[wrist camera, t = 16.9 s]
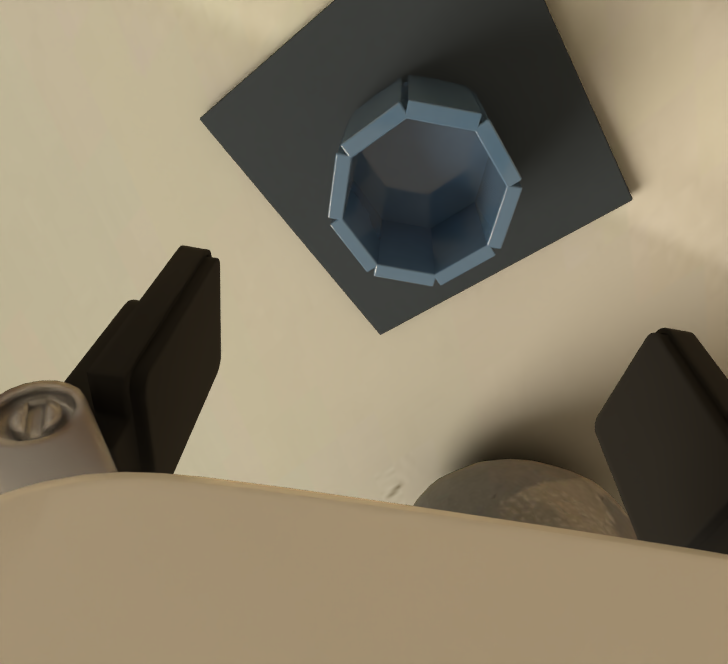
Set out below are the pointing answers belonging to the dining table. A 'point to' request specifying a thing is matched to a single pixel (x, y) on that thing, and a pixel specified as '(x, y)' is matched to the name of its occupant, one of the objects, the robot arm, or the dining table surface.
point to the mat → (429, 60)
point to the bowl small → (422, 182)
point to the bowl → (529, 497)
